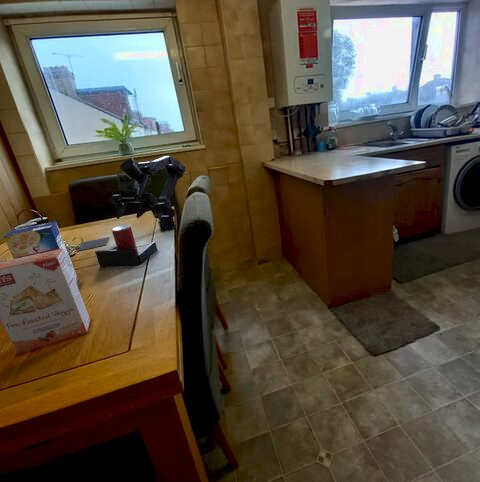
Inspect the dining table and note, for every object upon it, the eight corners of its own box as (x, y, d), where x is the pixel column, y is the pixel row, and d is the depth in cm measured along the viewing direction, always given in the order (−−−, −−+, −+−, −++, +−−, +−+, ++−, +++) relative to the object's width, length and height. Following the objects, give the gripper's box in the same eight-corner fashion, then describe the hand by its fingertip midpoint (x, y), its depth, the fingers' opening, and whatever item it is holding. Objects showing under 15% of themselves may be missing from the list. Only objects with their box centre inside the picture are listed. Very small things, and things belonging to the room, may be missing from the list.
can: (137, 252, 110) (128, 223, 106) (140, 257, 105) (131, 226, 101) (119, 257, 107) (110, 227, 103) (122, 263, 102) (112, 231, 98)
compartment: (120, 253, 113) (115, 237, 111) (158, 251, 111) (153, 235, 108) (99, 269, 101) (93, 251, 99) (140, 267, 99) (135, 249, 96)
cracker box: (17, 356, 62) (-27, 275, 55) (27, 339, 67) (-12, 263, 60) (88, 334, 67) (56, 256, 60) (91, 320, 72) (62, 246, 65)
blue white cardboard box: (77, 293, 86) (51, 227, 78) (35, 305, 82) (2, 236, 74) (80, 283, 92) (56, 221, 84) (41, 294, 88) (11, 230, 80)
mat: (109, 237, 134) (108, 237, 134) (105, 245, 124) (105, 244, 124) (83, 242, 131) (83, 242, 131) (77, 251, 121) (77, 250, 121)
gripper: (107, 175, 113) (92, 207, 105) (147, 172, 108) (135, 205, 101) (125, 192, 122) (112, 222, 115) (162, 189, 117) (152, 221, 110)
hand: (127, 218), depth 110 cm, fingers open, 9 cm apart
